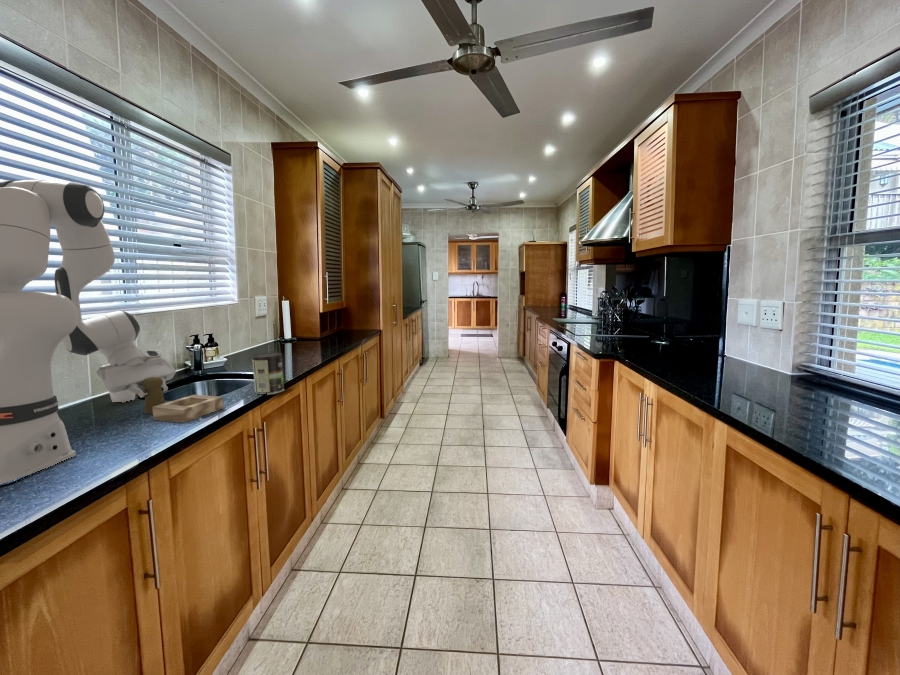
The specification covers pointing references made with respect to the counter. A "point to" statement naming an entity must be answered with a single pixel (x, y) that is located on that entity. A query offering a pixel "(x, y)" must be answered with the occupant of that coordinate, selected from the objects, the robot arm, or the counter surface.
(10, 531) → the counter surface
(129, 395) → the foam cup
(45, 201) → the robot arm
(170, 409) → the block
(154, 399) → the cork
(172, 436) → the counter surface
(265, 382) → the coffee can
